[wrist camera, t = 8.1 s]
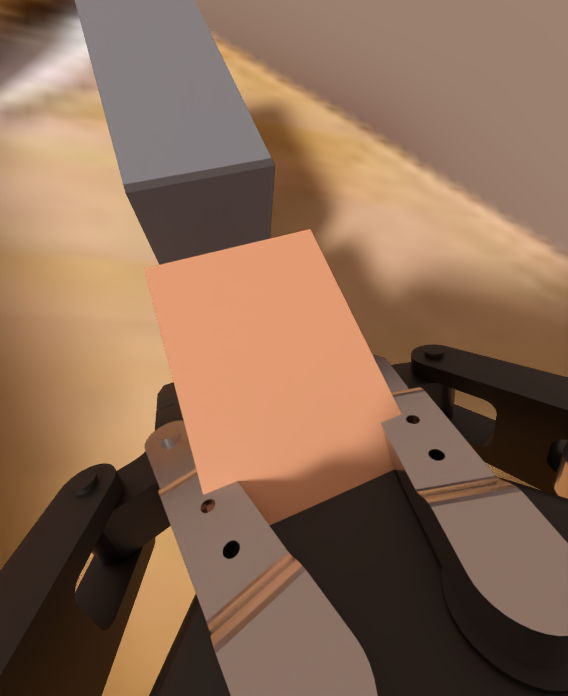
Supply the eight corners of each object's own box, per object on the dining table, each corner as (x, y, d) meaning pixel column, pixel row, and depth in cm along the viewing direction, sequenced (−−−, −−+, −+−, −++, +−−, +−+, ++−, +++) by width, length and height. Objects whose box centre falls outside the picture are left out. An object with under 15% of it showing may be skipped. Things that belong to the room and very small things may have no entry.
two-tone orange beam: (317, 467, 16) (433, 473, 6) (243, 499, 15) (220, 572, 5) (278, 364, 18) (312, 228, 7) (209, 387, 17) (141, 269, 7)
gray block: (264, 329, 19) (276, 165, 8) (198, 348, 18) (123, 193, 8) (209, 184, 22) (171, -50, 12) (152, 195, 22) (61, -47, 11)
